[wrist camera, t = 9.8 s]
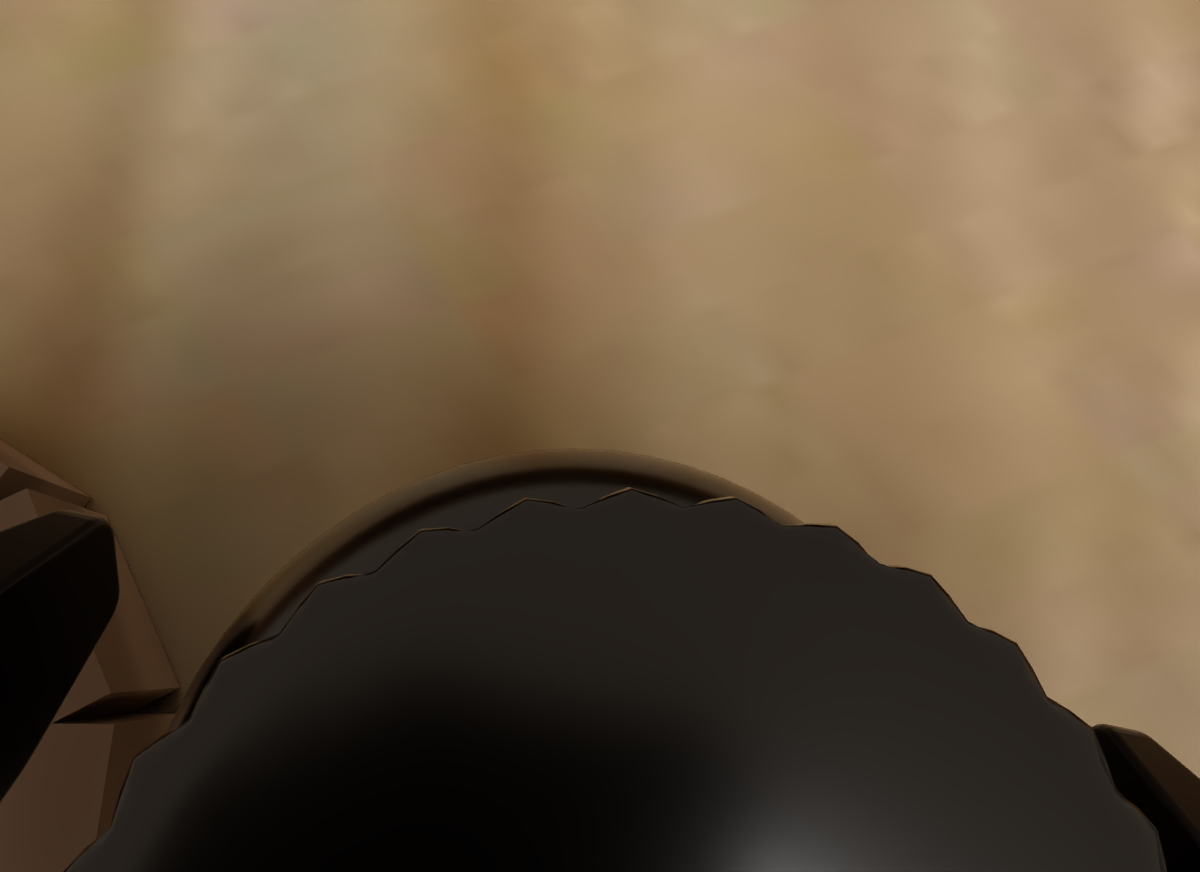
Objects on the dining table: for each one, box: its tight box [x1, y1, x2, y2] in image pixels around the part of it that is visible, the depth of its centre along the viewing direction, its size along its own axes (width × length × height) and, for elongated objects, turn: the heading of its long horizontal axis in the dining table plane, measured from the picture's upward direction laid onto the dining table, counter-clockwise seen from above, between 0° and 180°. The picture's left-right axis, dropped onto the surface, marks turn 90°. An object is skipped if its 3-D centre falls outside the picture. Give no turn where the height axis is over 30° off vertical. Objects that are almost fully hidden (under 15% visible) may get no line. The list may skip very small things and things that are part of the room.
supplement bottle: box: [64, 449, 1167, 872], centre depth 9 cm, size 7×7×12 cm
